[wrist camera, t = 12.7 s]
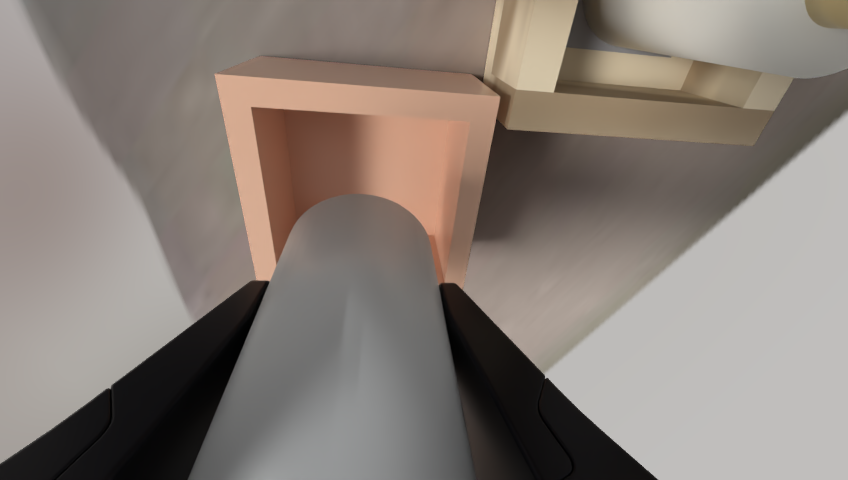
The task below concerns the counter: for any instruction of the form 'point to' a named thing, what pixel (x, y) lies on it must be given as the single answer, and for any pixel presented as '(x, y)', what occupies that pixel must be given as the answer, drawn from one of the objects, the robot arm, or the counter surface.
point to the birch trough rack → (616, 83)
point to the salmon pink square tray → (357, 148)
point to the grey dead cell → (345, 360)
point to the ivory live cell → (731, 32)
